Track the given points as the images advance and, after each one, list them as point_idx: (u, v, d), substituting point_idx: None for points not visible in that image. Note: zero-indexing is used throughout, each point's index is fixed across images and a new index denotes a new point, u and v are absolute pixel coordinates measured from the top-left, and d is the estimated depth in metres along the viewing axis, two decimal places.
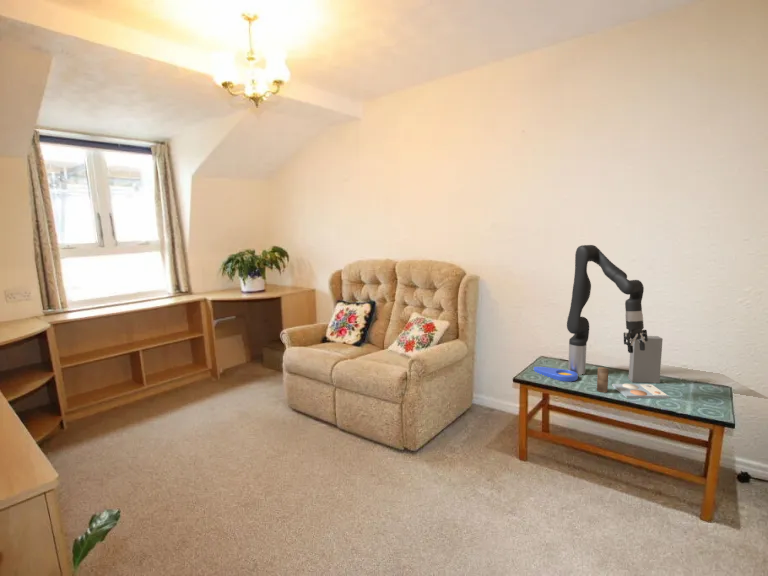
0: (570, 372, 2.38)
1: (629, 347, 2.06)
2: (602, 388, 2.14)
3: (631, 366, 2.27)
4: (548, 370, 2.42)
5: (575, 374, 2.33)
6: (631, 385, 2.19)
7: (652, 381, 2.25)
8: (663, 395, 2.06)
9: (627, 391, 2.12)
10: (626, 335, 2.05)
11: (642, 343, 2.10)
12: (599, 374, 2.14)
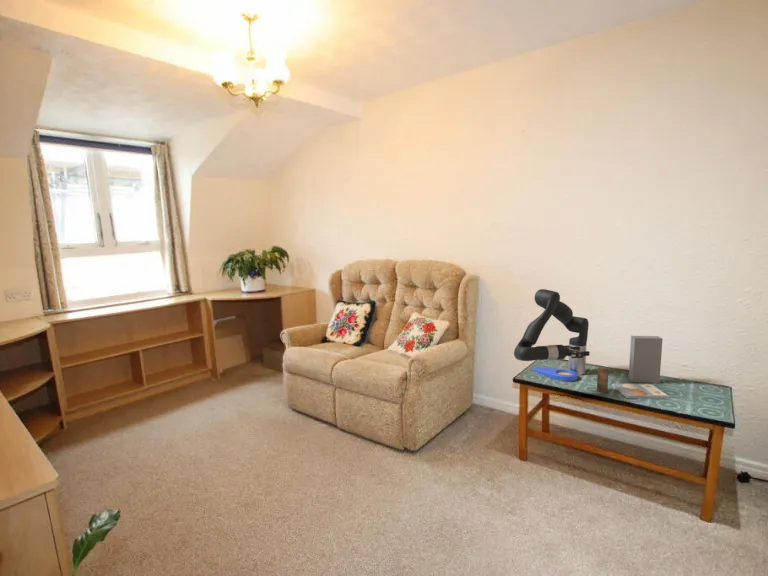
0: (570, 372, 2.38)
1: None
2: (602, 388, 2.14)
3: (631, 366, 2.27)
4: (548, 370, 2.42)
5: (575, 374, 2.33)
6: (631, 385, 2.19)
7: (652, 381, 2.25)
8: (663, 395, 2.06)
9: (627, 391, 2.12)
10: None
11: None
12: (599, 374, 2.14)
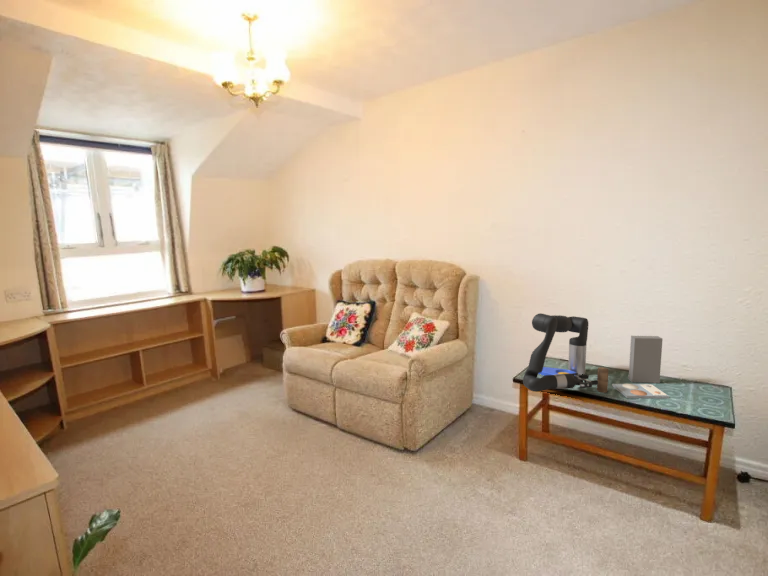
0: (569, 371, 2.39)
1: None
2: (602, 388, 2.14)
3: (631, 366, 2.27)
4: (548, 370, 2.42)
5: None
6: (631, 385, 2.19)
7: (652, 381, 2.25)
8: (663, 395, 2.06)
9: (627, 391, 2.12)
10: None
11: None
12: (599, 374, 2.14)
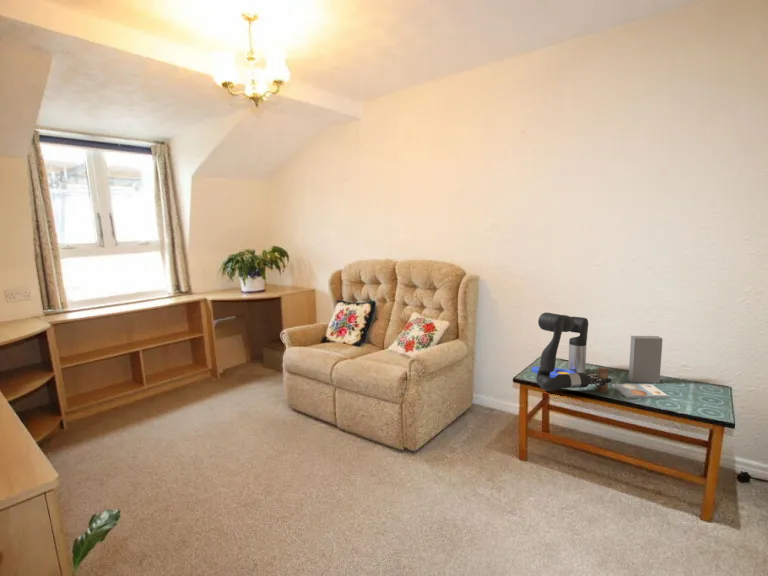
0: (568, 371, 2.40)
1: None
2: (602, 388, 2.14)
3: (631, 366, 2.27)
4: None
5: None
6: (631, 385, 2.19)
7: (652, 381, 2.25)
8: (663, 395, 2.06)
9: (627, 391, 2.12)
10: None
11: None
12: (599, 374, 2.14)
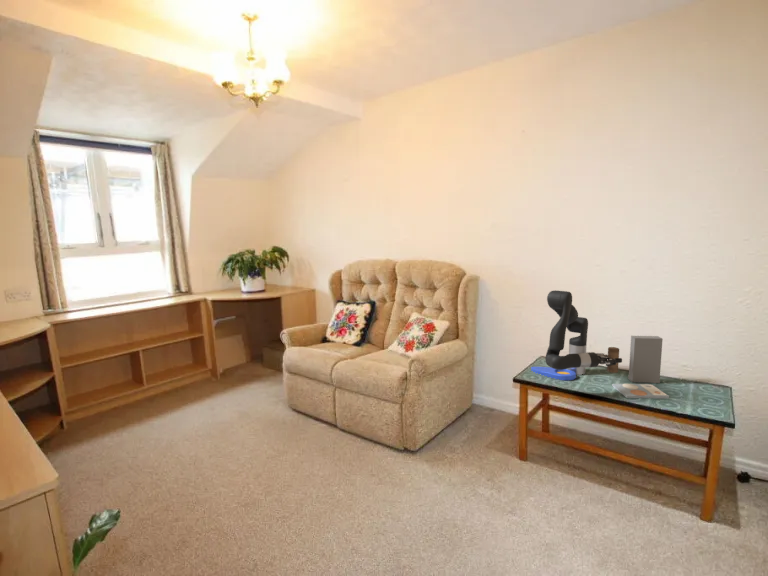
0: (568, 371, 2.40)
1: None
2: (612, 368, 2.11)
3: (631, 366, 2.27)
4: (546, 369, 2.43)
5: (573, 373, 2.35)
6: (631, 385, 2.19)
7: (652, 381, 2.25)
8: (663, 395, 2.06)
9: (627, 391, 2.12)
10: None
11: None
12: (609, 354, 2.11)
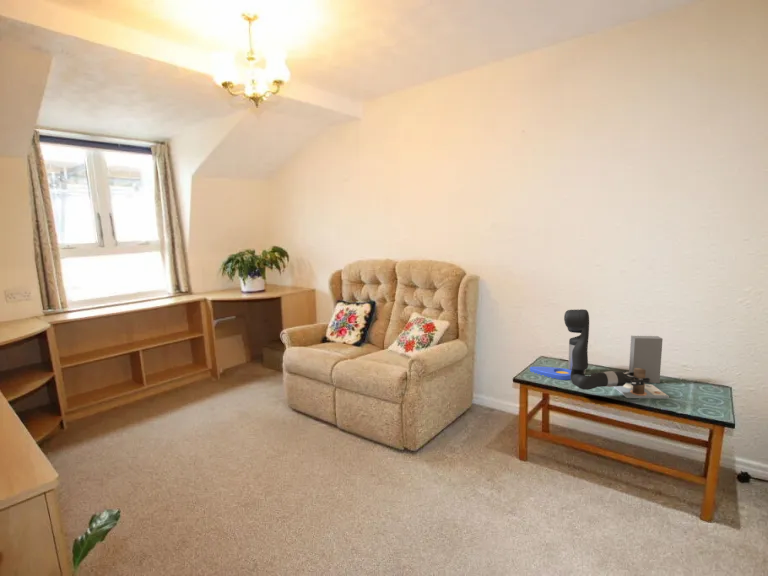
0: (566, 370, 2.41)
1: None
2: (638, 390, 2.07)
3: (631, 366, 2.27)
4: (546, 369, 2.43)
5: None
6: (631, 385, 2.19)
7: (652, 381, 2.25)
8: (663, 395, 2.06)
9: (627, 391, 2.12)
10: None
11: None
12: (636, 375, 2.07)
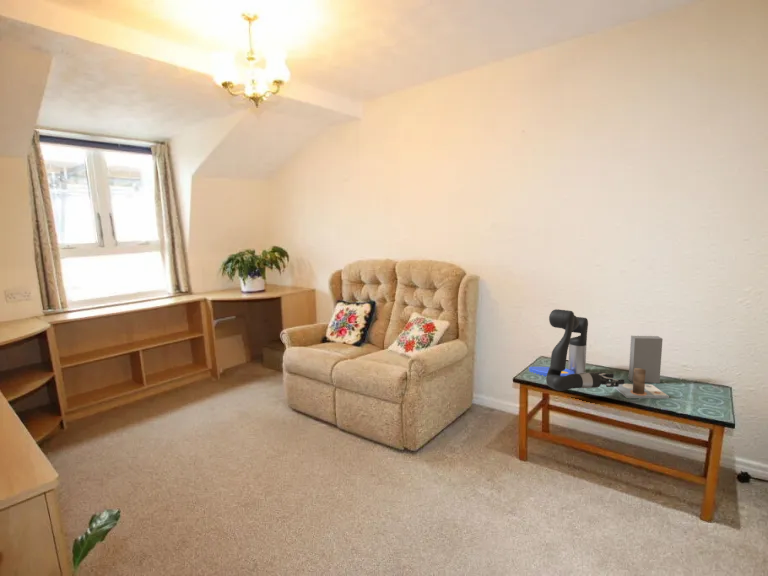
0: (565, 370, 2.42)
1: None
2: (638, 390, 2.07)
3: (631, 366, 2.27)
4: (545, 369, 2.43)
5: (572, 372, 2.37)
6: (631, 385, 2.19)
7: (652, 381, 2.25)
8: (663, 395, 2.06)
9: (627, 391, 2.12)
10: None
11: None
12: (636, 375, 2.07)
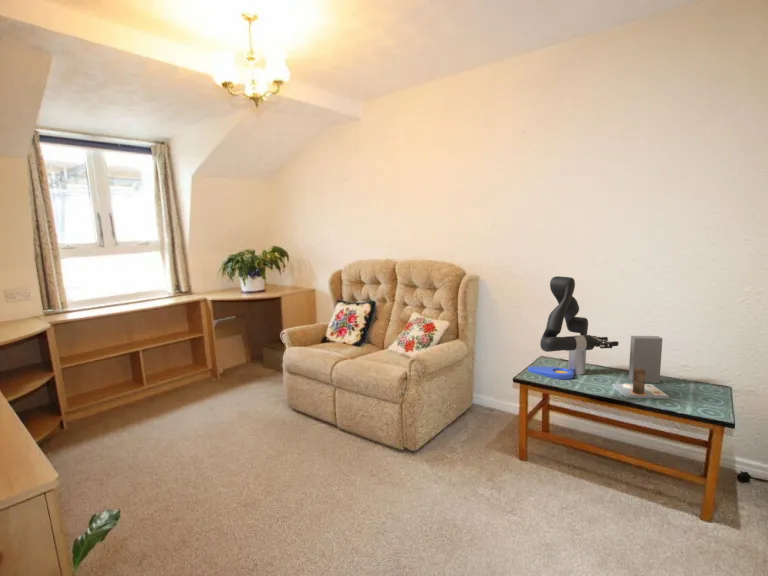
0: (565, 370, 2.42)
1: None
2: (638, 390, 2.07)
3: (631, 366, 2.27)
4: (544, 369, 2.43)
5: (571, 371, 2.37)
6: (631, 385, 2.19)
7: (652, 381, 2.25)
8: (663, 395, 2.06)
9: (627, 391, 2.12)
10: None
11: None
12: (636, 375, 2.07)
